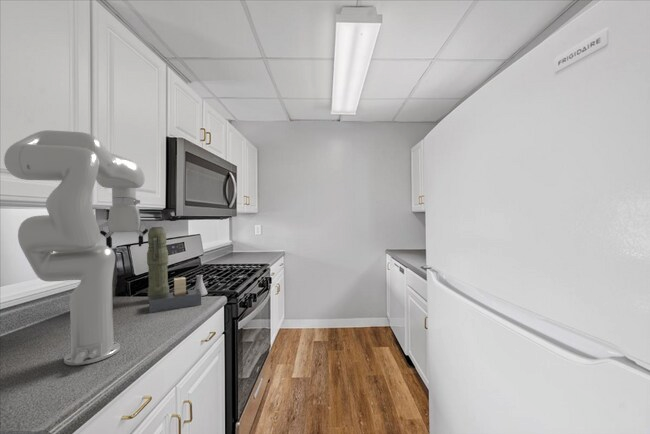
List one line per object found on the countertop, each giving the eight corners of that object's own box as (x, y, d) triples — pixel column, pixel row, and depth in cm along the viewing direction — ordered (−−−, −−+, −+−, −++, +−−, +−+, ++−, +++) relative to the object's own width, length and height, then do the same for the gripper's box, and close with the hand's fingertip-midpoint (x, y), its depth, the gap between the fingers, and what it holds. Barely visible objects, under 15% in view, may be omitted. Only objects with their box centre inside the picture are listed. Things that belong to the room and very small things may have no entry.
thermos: (169, 295, 146) (168, 226, 146) (168, 301, 135) (166, 227, 135) (149, 298, 142) (147, 227, 142) (146, 304, 131) (144, 227, 131)
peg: (186, 305, 129) (185, 278, 129) (175, 307, 127) (174, 279, 127) (185, 302, 133) (184, 276, 133) (174, 304, 130) (173, 278, 130)
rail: (201, 304, 129) (201, 293, 129) (149, 312, 120) (148, 300, 120) (199, 299, 138) (198, 288, 138) (150, 306, 128) (150, 295, 128)
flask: (210, 293, 149) (209, 274, 149) (202, 297, 141) (202, 277, 141) (197, 293, 150) (196, 273, 149) (188, 297, 142) (188, 277, 142)
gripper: (150, 203, 119) (151, 244, 119) (98, 203, 111) (99, 247, 111) (149, 202, 113) (150, 246, 113) (93, 202, 104) (95, 249, 104)
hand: (125, 247), depth 112 cm, fingers open, 9 cm apart
